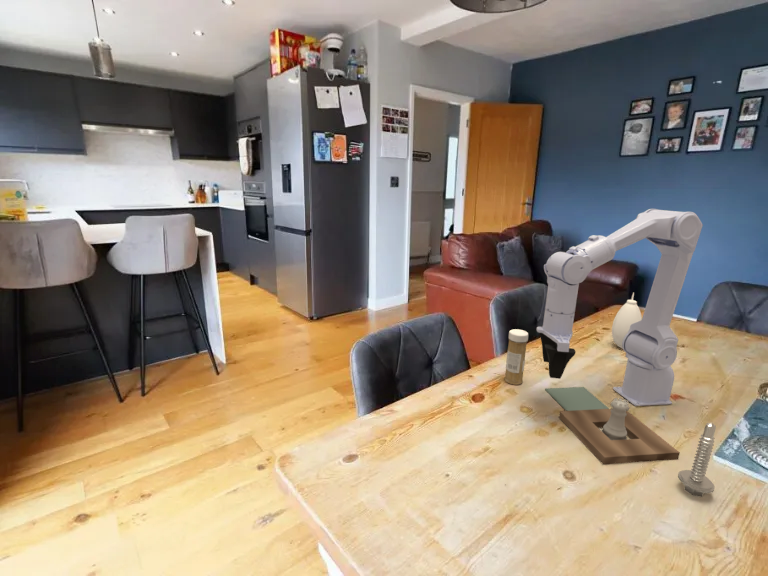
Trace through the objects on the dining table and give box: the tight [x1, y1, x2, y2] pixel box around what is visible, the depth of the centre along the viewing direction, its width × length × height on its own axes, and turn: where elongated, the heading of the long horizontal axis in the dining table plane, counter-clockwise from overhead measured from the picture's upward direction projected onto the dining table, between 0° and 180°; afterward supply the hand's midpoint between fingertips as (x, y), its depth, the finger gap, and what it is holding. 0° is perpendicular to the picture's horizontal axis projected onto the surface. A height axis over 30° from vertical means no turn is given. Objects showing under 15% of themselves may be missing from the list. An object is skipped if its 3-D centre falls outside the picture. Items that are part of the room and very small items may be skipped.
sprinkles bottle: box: [503, 328, 529, 386], centre depth 101 cm, size 5×5×13 cm
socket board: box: [558, 408, 680, 465], centre depth 81 cm, size 15×15×2 cm
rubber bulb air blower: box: [611, 292, 643, 350], centre depth 123 cm, size 8×8×18 cm
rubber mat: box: [544, 386, 610, 411], centre depth 94 cm, size 10×10×1 cm
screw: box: [677, 422, 716, 498], centre depth 65 cm, size 13×5×5 cm
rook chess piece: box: [601, 397, 630, 440], centre depth 80 cm, size 4×4×8 cm
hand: (551, 369), depth 88 cm, fingers open, 7 cm apart
